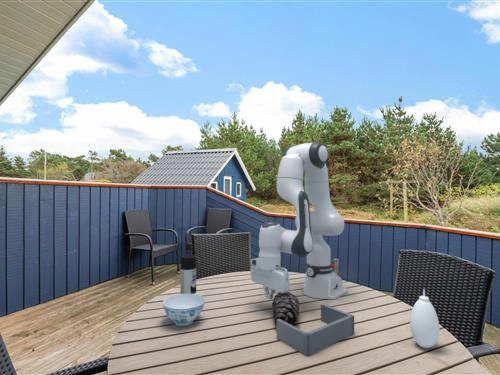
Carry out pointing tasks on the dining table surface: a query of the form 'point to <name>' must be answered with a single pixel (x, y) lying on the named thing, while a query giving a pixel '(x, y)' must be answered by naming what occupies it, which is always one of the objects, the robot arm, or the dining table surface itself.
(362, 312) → the dining table surface
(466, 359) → the dining table surface
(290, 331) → the box
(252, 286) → the dining table surface
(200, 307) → the chinaware
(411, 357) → the dining table surface
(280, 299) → the pine cone
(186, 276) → the spray can
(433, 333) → the sauce bottle
